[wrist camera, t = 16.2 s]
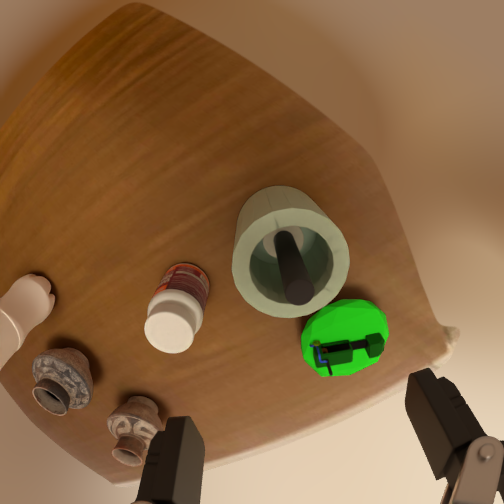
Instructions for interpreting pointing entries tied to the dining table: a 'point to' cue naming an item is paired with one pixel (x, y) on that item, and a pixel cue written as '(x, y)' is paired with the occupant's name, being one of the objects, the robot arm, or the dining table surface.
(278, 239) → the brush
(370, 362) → the green rounded lump
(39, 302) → the water bottle
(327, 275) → the jar
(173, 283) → the pill bottle
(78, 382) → the pottery
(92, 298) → the dining table surface
